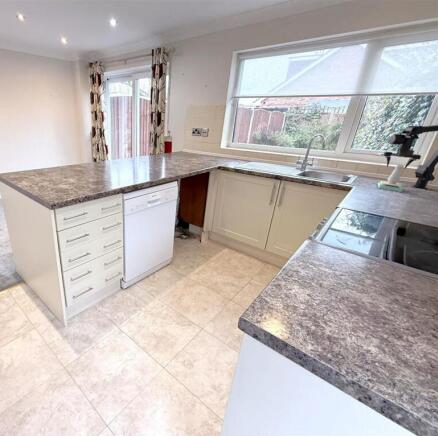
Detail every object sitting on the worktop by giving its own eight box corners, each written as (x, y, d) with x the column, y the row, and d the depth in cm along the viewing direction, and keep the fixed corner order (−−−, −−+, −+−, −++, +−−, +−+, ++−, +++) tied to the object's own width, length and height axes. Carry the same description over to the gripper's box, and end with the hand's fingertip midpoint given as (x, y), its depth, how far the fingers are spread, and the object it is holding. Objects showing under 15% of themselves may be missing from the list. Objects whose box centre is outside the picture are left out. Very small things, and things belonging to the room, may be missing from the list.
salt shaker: (399, 184, 170) (408, 166, 164) (389, 184, 171) (398, 165, 165) (393, 182, 175) (402, 164, 169) (384, 181, 176) (392, 163, 170)
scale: (377, 184, 182) (379, 180, 180) (399, 187, 175) (401, 183, 174) (378, 188, 171) (380, 184, 170) (401, 192, 165) (404, 187, 163)
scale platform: (380, 181, 180) (381, 180, 179) (399, 184, 174) (399, 183, 174) (381, 184, 172) (382, 183, 171) (401, 187, 166) (401, 186, 166)
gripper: (389, 144, 169) (379, 167, 175) (427, 147, 158) (415, 171, 165) (387, 143, 177) (378, 164, 183) (424, 146, 166) (413, 169, 173)
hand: (395, 167), depth 176 cm, fingers open, 9 cm apart
